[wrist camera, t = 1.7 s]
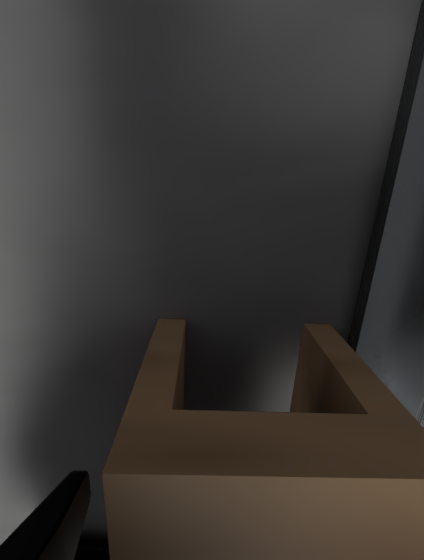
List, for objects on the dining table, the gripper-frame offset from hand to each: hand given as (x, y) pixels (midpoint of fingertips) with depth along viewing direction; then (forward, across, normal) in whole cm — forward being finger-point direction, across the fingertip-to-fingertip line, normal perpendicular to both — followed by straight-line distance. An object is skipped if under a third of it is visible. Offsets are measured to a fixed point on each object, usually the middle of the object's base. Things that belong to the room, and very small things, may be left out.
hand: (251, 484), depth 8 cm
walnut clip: (+4, 0, 0) cm, 4 cm away
